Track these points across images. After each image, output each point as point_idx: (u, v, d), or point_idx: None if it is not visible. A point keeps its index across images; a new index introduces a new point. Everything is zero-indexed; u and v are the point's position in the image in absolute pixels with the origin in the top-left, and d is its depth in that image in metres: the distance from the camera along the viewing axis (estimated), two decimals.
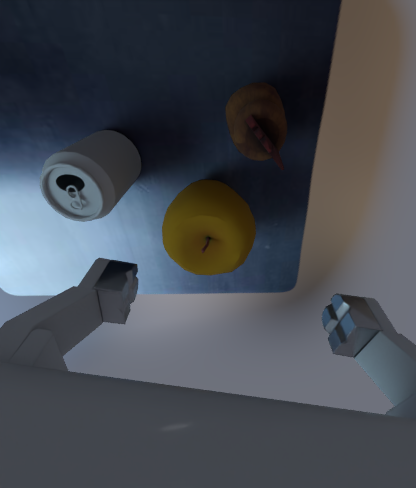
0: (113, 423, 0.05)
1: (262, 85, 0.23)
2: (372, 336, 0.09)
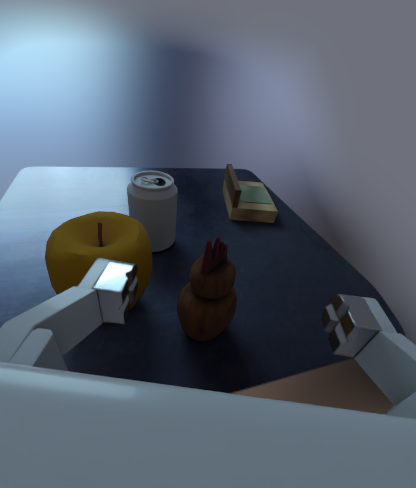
0: (113, 423, 0.05)
1: (235, 295, 0.29)
2: (372, 336, 0.09)
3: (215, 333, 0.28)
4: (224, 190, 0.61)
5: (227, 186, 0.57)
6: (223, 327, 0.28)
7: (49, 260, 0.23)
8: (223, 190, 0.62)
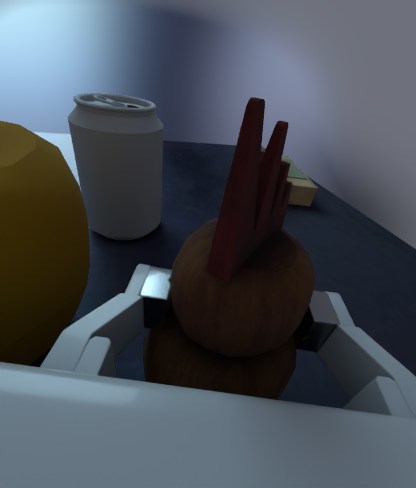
0: (113, 423, 0.05)
1: None
2: (331, 330, 0.09)
3: None
4: None
5: None
6: None
7: None
8: None
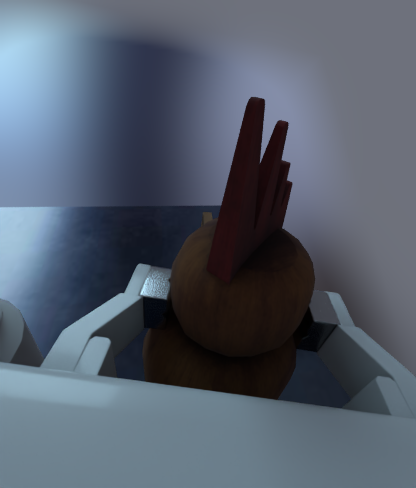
0: (113, 423, 0.05)
1: None
2: (331, 330, 0.09)
3: None
4: None
5: None
6: None
7: None
8: None
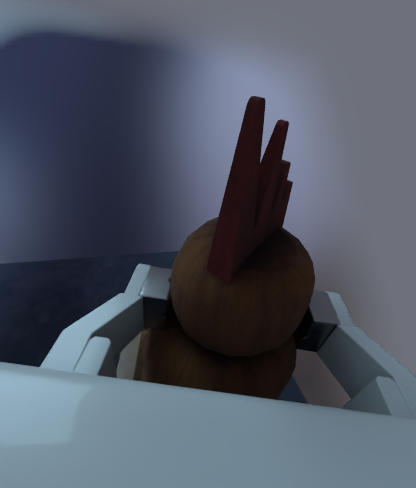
0: (113, 423, 0.05)
1: None
2: (331, 330, 0.09)
3: None
4: None
5: None
6: None
7: None
8: None
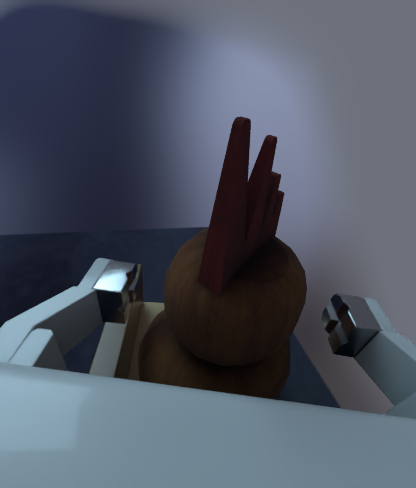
0: (113, 423, 0.05)
1: None
2: (372, 336, 0.09)
3: None
4: None
5: None
6: None
7: None
8: None
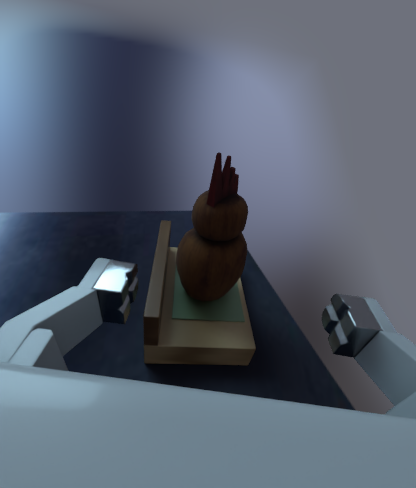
0: (113, 423, 0.05)
1: None
2: (372, 336, 0.09)
3: (221, 289, 0.24)
4: None
5: None
6: (230, 283, 0.24)
7: None
8: None
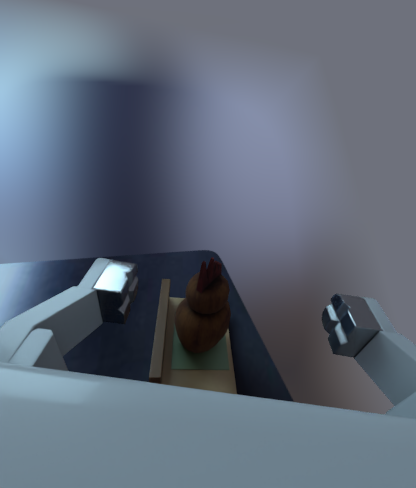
0: (113, 423, 0.05)
1: None
2: (372, 336, 0.09)
3: (210, 345, 0.30)
4: None
5: None
6: (217, 340, 0.30)
7: None
8: None
